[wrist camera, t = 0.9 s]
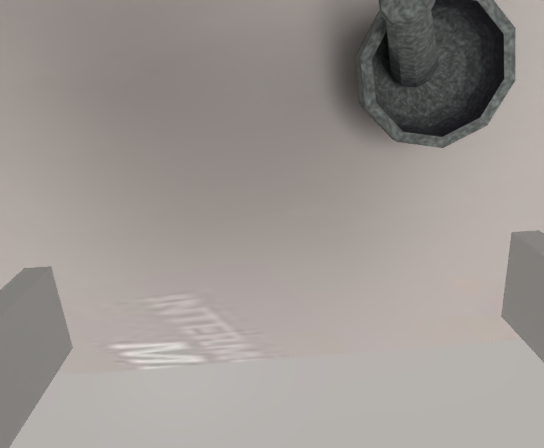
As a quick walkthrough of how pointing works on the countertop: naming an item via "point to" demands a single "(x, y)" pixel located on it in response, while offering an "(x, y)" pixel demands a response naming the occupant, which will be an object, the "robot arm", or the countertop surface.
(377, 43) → the mortar and pestle
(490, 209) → the countertop surface
